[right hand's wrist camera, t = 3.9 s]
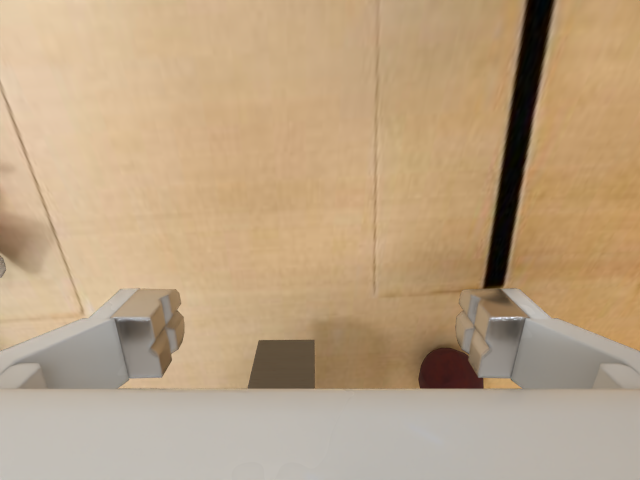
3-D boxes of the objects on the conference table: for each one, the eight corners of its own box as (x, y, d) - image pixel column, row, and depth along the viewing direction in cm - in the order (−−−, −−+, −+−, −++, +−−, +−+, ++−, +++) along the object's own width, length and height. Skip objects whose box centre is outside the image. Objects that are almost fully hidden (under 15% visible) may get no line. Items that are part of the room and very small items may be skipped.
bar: (258, 340, 34) (243, 404, 27) (314, 339, 34) (314, 404, 27) (270, 503, 42) (261, 587, 35) (315, 503, 42) (315, 586, 35)
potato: (427, 392, 47) (445, 439, 40) (401, 351, 45) (415, 394, 38) (479, 369, 46) (506, 414, 39) (455, 326, 43) (479, 365, 37)
